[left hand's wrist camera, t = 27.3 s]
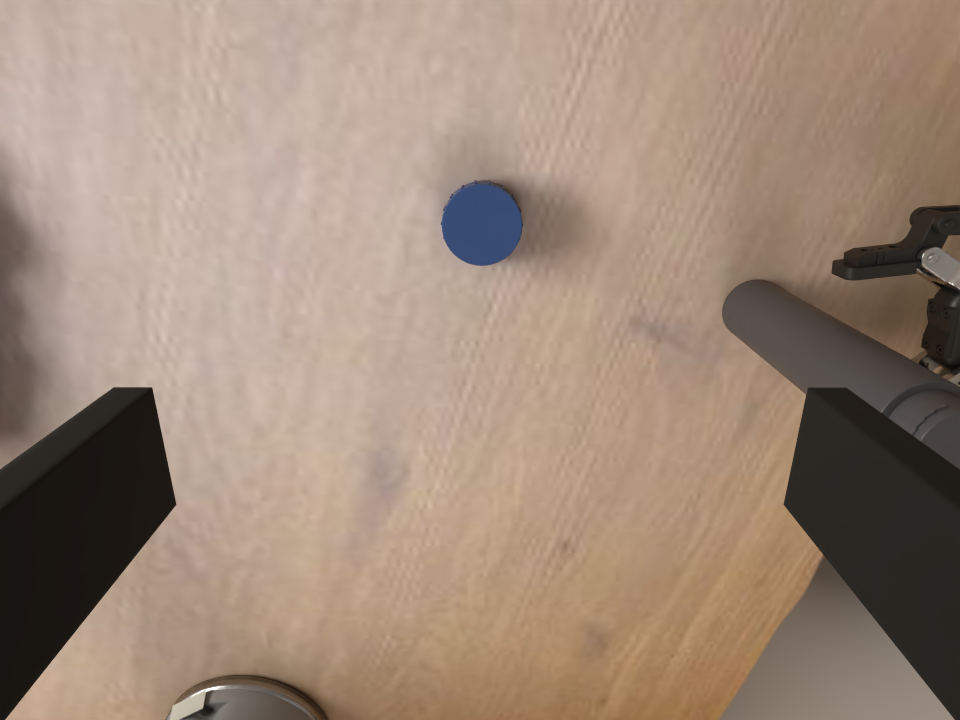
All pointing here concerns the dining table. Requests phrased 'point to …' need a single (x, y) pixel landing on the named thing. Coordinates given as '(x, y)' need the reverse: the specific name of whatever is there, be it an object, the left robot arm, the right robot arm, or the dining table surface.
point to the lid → (481, 223)
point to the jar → (845, 363)
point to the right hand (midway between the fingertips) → (832, 339)
